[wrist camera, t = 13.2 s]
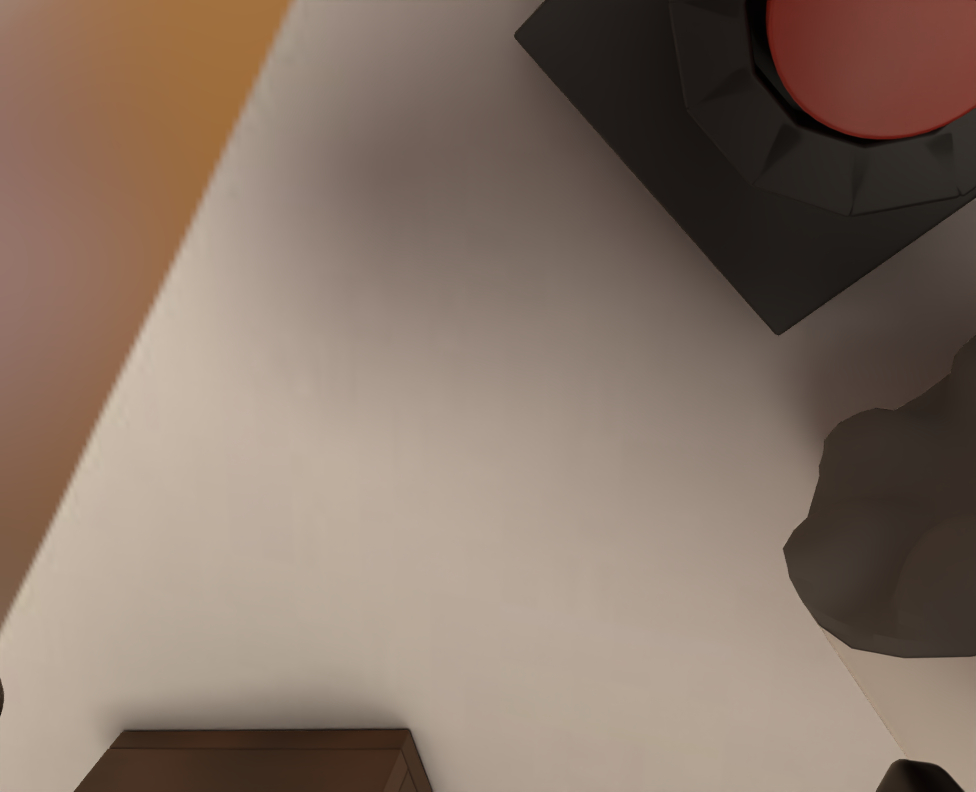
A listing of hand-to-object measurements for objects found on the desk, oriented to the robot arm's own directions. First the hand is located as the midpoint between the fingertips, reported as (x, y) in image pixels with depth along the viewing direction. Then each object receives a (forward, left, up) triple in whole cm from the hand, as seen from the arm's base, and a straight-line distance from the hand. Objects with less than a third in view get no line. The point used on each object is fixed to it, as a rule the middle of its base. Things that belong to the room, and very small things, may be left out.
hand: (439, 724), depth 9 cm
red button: (-7, -1, -10) cm, 13 cm away
